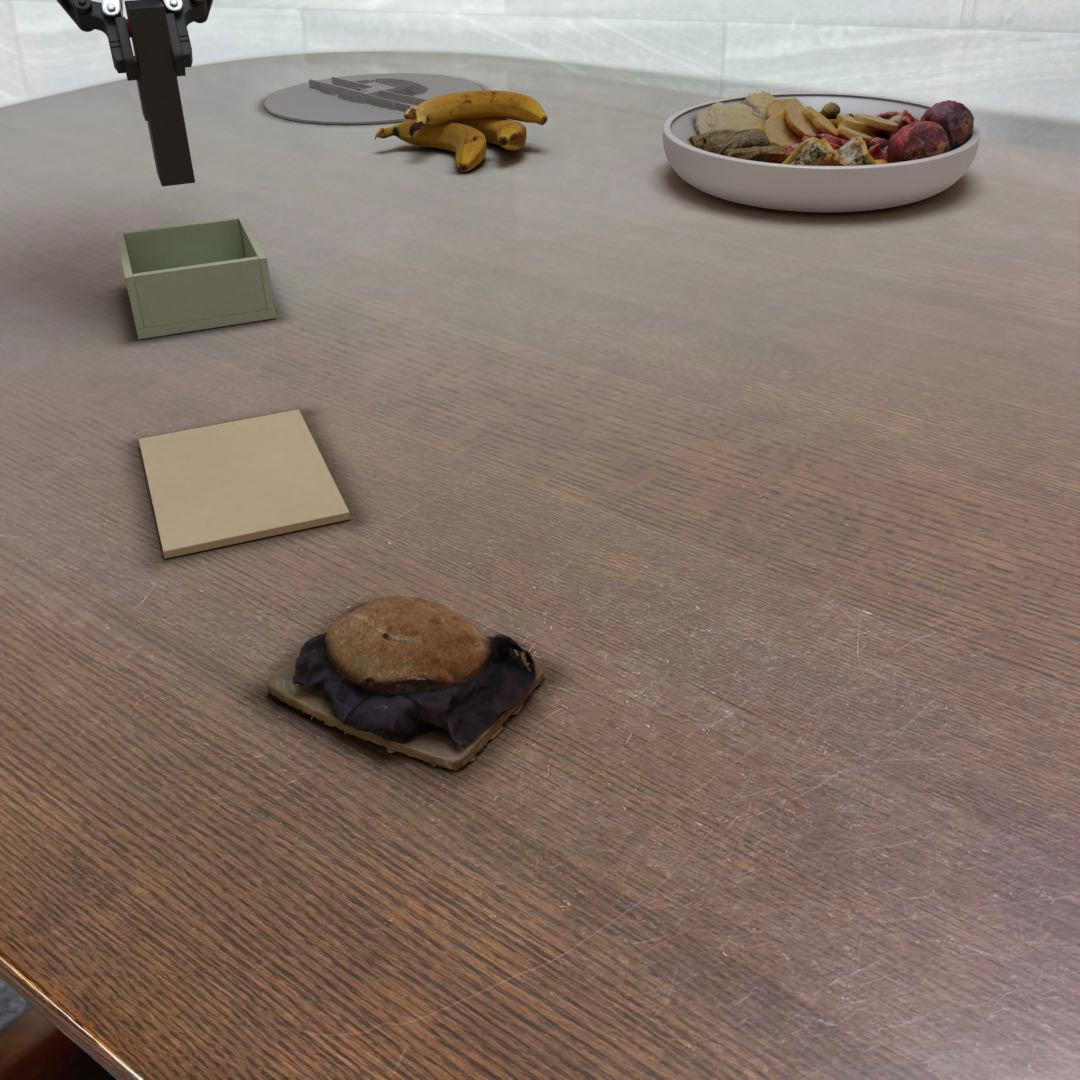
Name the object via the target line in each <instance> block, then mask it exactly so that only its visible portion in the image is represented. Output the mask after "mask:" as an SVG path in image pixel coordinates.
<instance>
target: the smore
mask: <svg viewBox="0 0 1080 1080" xmlns="http://www.w3.org/2000/svg"><path fill="white" fill-rule="evenodd" d="M515 650H516V651H517V652H515ZM523 653H524V655H523ZM522 655H523V656H522ZM545 678H546V675H545V670H544V668H543V667H542V666H541V665H540V664H538V663H537V662H535V660H534V659H533V658H532V654H531V653H530V652H529V651H528V650H526V649H523V648H522V646H520V645H519V644H518V642H516V641H515V640H514V639H513V638H512V637H511V636H509V635H506V634H501V633H497V634H495V635H494V636H486V635H485V634H484V633H483V631H482V630H480V629H479V628H478V626H476V625H475V624H473V623H472V622H471V621H470V620H468V619H466V618H465V617H463V616H461V615H460V614H458V613H457V612H455V611H453V610H452V609H449V608H447V607H445V606H444V605H442V604H440V603H437V602H434V601H431V600H428V599H424V598H422V597H414V596H406V595H404V596H403V595H389V596H388V595H387V596H383V597H382V596H381V597H378V598H374V599H371V600H370V601H367V602H362V603H361V602H360V604H357V605H355V606H354V607H352V608H350V609H349V610H347V611H346V612H344V614H342V615H341V616H340V617H339V618H338V619H335V620H334V621H333V622H332V623H331V624H330V625H329V627H328V628H326V629H325V630H324V631H323V632H322V633H320V634H317V635H316V636H314V637H312V638H309V639H308V640H307V641H305V642H304V643H303V645H302V646H301V648H300V651H298V652H297V653H296V654H295V655H294V656H293V657H291V658H290V659H289V660H287V662H285V663H284V664H283V665H282V666H281V667H280V668H278V669H277V670H276V671H274V672H273V673H272V674H271V675H270V676H269V677H268V679H267V681H266V689H265V692H269V694H271V695H272V696H273V698H275V697H276V700H279V701H280V702H282V703H286V704H287V706H290V707H291V708H294V709H295V710H296V711H299V710H300V711H302V714H306V715H310V716H311V717H310V720H312V719H313V718H314V717H315V719H316V720H318V721H320V722H323V725H326V726H327V727H331V728H334V727H336V728H337V729H338V730H339V731H342V732H343V735H350V736H354V737H356V738H358V739H360V740H363V741H364V742H369V741H370V742H371V743H372V744H374V745H377V746H380V747H381V746H382V747H385V748H386V751H387V753H388V754H393V753H395V752H397V753H401V754H404V755H406V756H407V757H409V758H416V759H418V760H421V761H422V762H424V763H427V764H429V765H431V767H434V768H435V767H436V766H438V767H440V768H444V769H449V770H450V771H454V772H455V771H458V770H460V769H461V768H462V767H464V766H466V765H467V764H468V763H470V762H473V761H475V760H476V756H477V754H479V752H480V753H481V752H482V751H481V750H483V749H484V747H485V746H487V744H488V742H489V741H491V740H493V739H494V738H496V736H498V735H499V734H500V733H501V731H502V730H503V729H504V727H503V725H504V723H506V722H507V721H508V719H509V718H510V717H511V716H514V715H517V714H519V712H520V711H521V710H522V709H523V707H524V704H525V701H526V700H527V699H528V697H530V696H531V694H532V693H533V692H534V691H535V689H536V688H537V687H538V686H539V685H541V684H542V682H543V681H544V679H545Z"/></svg>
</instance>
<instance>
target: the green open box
mask: <svg viewBox="0 0 1080 1080" xmlns="http://www.w3.org/2000/svg"><path fill="white" fill-rule="evenodd" d="M115 238H116V242H117V248H118V252H119V256H120V257H119V258H120V261H121V267H122V271H123V276H124V281H125V285H126V289H127V294H128V299H129V304H130V307H131V312H132V313H131V314H132V316H133V321H134V326H135V330H136V331H135V332H136V334H137V335H136V336H137V339H138V340H144V339H150V338H151V339H152V338H159V337H164V336H171V335H177V334H183V333H190V332H196V331H203V330H208V329H209V330H210V329H214V328H222V327H229V326H234V325H240V324H241V325H242V324H248V323H253V322H254V323H255V322H261V321H268V320H273V319H277V315H276V309H275V301H274V294H273V288H272V281H271V276H270V270H269V263H268V257H267V256H266V253H265V251H264V249H263V248H262V246H261V244H260V242H259V239H258V238H257V236H256V235H255V232H254V230H253V228H252V226H251V225H250V223H249V220H248V219H247V217H246V216H245V215H240V216H232V217H226V218H225V217H224V218H218V219H211V220H202V221H194V222H187V223H186V222H185V223H178V224H171V225H163V226H157V227H149V228H140V229H134V230H125V231H117V232H115Z"/></svg>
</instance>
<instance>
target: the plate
mask: <svg viewBox="0 0 1080 1080" xmlns="http://www.w3.org/2000/svg"><path fill="white" fill-rule="evenodd" d="M468 91H484V90H483V89H482V87H481V86H480V85H479V84H477V83H475V82H473V81H471V80H467V79H465V78H462V77H461V78H460V77H456V76H450V75H443V74H431V73H414V72H413V73H411V72H410V73H405V72H404V73H402V72H401V73H368V74H355V75H344V76H331V77H330V78H329V77H328V78H323V79H318V80H316V79H313V78H312V79H311V78H309V80H308V82H303V83H299V84H295V85H292V86H288V87H287V88H283V89H281V90H279V91H276V92H275V93H273V94H271V95H270V96H268V97H267V98H266V99H265V100H264V108H265V110H266V111H267V113H269V114H271V115H273V116H274V117H277V118H281V119H283V120H288V121H292V122H299V123H307V124H318V125H319V124H320V125H376V124H379V125H380V124H390V123H392V124H393V123H401V122H404V121H408V120H411V119H406V118H405V117H404V114H405V111H406V110H407V109H410V108H413V107H417V106H418V105H419V104H420V103H422V102H424V101H426V100H428V99H431V98H434V97H438V96H442V95H446V94H452V93H459V92H468Z"/></svg>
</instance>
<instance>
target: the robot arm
mask: <svg viewBox="0 0 1080 1080" xmlns="http://www.w3.org/2000/svg"><path fill="white" fill-rule="evenodd" d="M160 1H161V2H162V4H163V5H164V7H165V12H166V17H167V23H168V29H169V34H170V40H171V49H172V54H173V60H174V66H175V71H176V75H177V77H186V75H187V74H186V68H192V65H193V62H194V60H193V47H192V43H191V39H190V35H189V30H188V26H189V25H190V24H191V23H196V24H204V23H206V22H207V21H208V18H209V16H210V12H211V9H212V6H213V3H214V0H160ZM56 2H57V4H59V6H60V7H61V8H62V9H63V10H64V11H65V13H66V15H67V16H68V17H69V18H70V19H71V21H73V22H74V24H75V25H76V26H77V27H78V28H79V30H80V31H82V32H85V33H91V32H93V31H94V30H96V31H100V32H102V33H103V34H105V36H106V37H107V41H108V46H109V50H110V54H111V59H112V63H113V68H114V69H115V71H116V72H117V74H125V75H126V81H127V82H130V81H131V82H132V81H136V80H138V77H137V71H136V64H135V59H134V56H135V55H134V49H133V45H132V40H131V38H130V37H129V32H128V28H127V24H126V19H127V18H126V16H124V0H101V2H100V1H95V0H56Z"/></svg>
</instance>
